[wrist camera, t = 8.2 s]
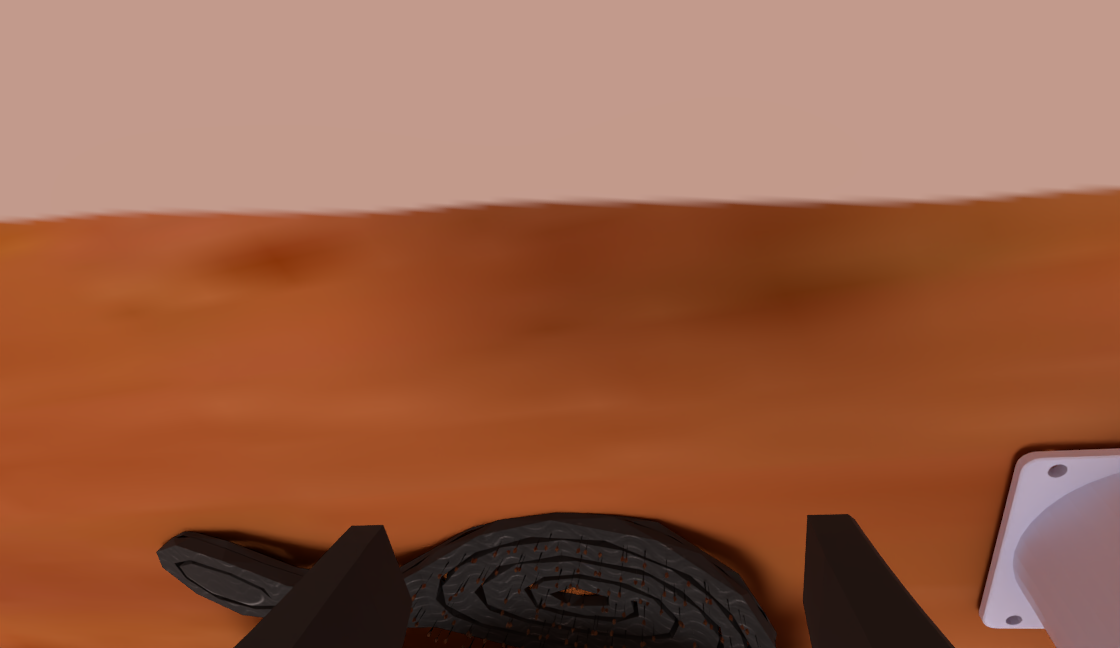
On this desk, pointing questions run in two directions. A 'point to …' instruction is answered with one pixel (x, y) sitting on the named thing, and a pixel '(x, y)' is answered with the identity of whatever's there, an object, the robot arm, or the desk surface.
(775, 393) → the desk surface
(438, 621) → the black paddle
